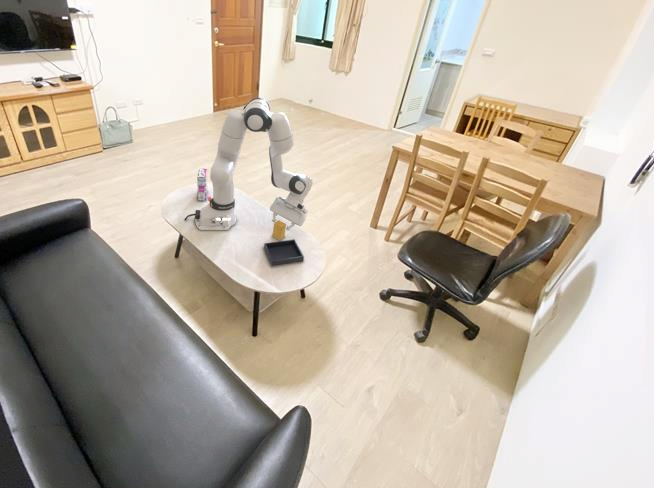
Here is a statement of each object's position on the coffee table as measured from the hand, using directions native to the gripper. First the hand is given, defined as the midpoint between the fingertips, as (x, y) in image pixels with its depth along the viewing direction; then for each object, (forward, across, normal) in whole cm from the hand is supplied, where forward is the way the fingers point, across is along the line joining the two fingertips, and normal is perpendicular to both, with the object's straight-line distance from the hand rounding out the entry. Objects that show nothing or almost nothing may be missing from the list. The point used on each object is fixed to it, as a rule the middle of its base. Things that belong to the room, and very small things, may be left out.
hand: (280, 225), depth 175 cm
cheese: (+6, 0, +5) cm, 7 cm away
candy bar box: (+7, -57, +4) cm, 58 cm away
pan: (+12, +10, -2) cm, 16 cm away
